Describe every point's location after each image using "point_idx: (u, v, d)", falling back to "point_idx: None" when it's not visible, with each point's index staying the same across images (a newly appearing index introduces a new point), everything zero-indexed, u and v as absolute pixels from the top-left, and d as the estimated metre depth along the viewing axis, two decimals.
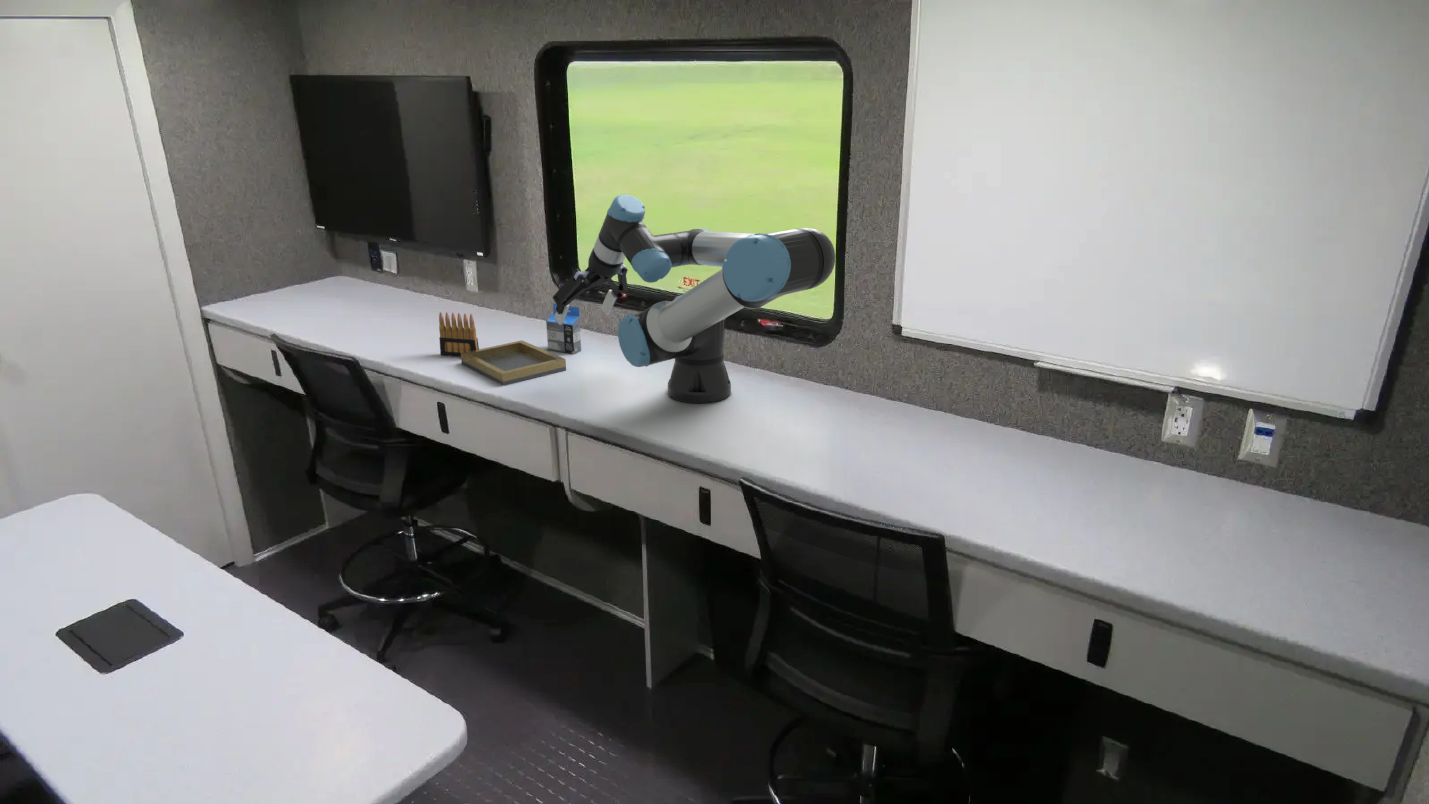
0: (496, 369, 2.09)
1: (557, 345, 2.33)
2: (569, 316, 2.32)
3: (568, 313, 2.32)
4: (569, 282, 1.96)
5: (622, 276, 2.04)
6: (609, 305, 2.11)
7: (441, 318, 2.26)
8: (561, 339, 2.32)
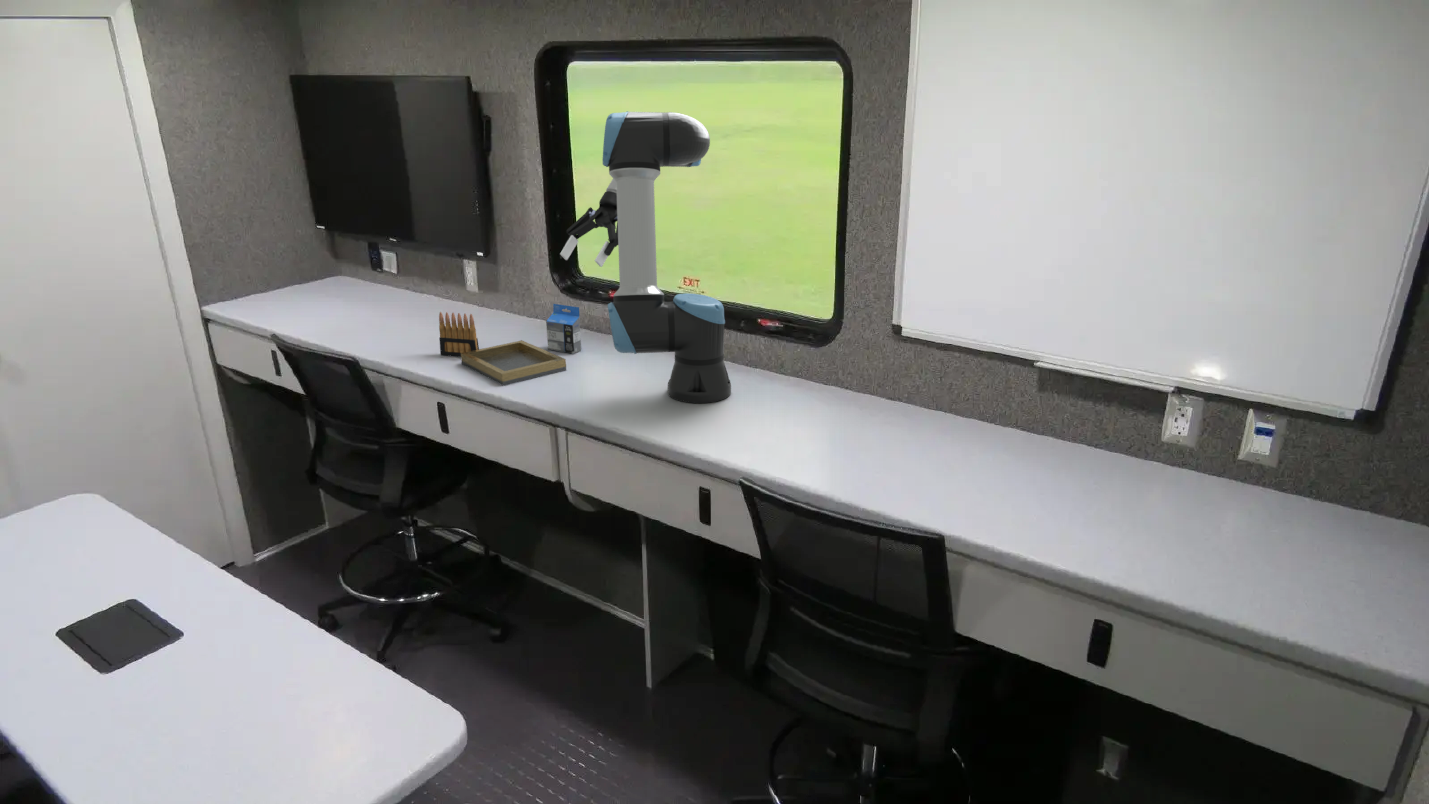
0: (496, 369, 2.09)
1: (557, 345, 2.33)
2: (569, 316, 2.32)
3: (568, 313, 2.32)
4: None
5: (618, 219, 2.32)
6: None
7: (441, 318, 2.26)
8: (561, 339, 2.32)
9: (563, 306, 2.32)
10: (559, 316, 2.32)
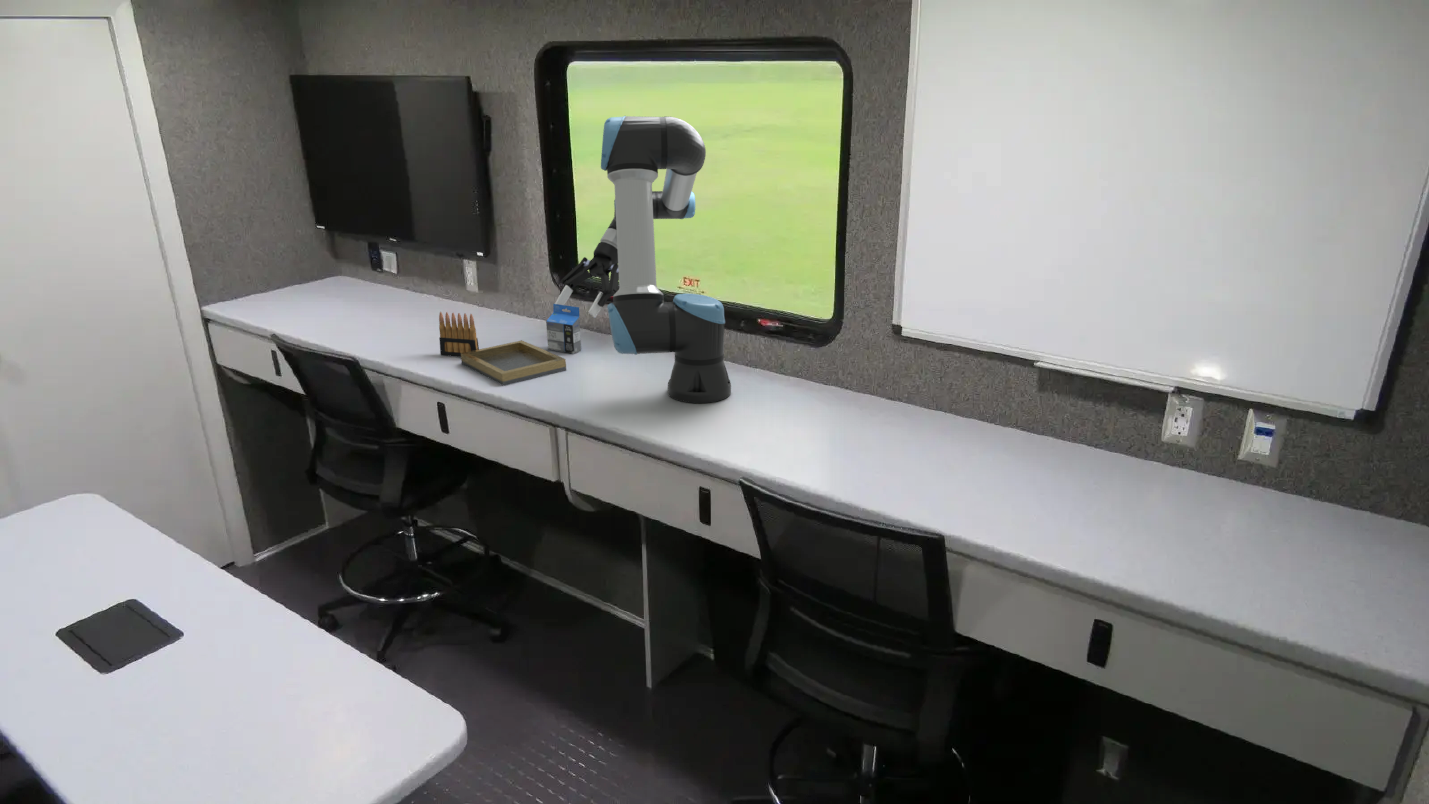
0: (496, 369, 2.09)
1: (557, 345, 2.33)
2: (569, 316, 2.32)
3: (568, 313, 2.32)
4: None
5: (611, 270, 2.35)
6: None
7: (441, 318, 2.26)
8: (561, 339, 2.32)
9: (563, 306, 2.32)
10: (559, 316, 2.32)
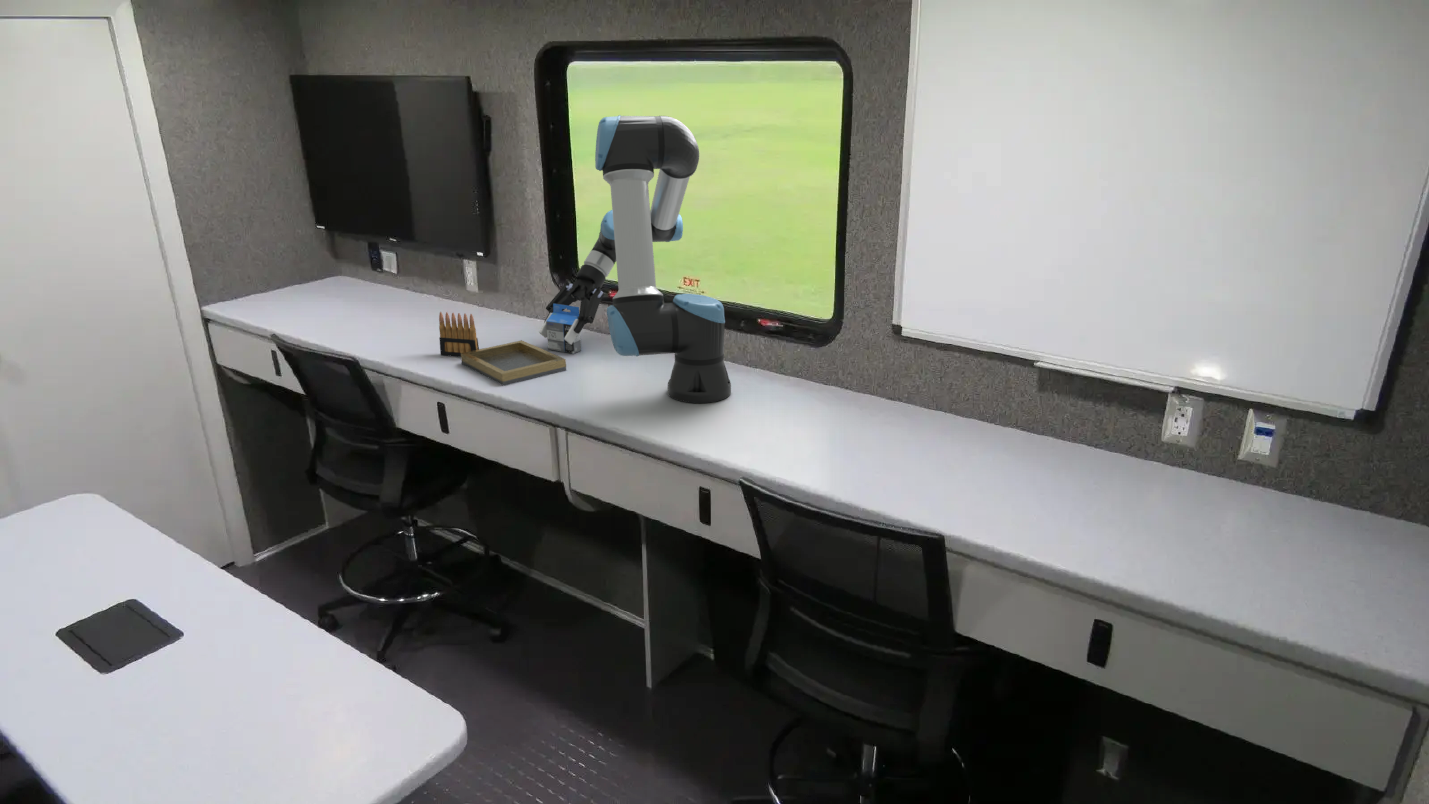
0: (496, 369, 2.09)
1: (557, 345, 2.33)
2: (569, 316, 2.32)
3: (568, 313, 2.32)
4: None
5: (593, 295, 2.31)
6: None
7: (441, 318, 2.26)
8: (561, 339, 2.32)
9: (563, 306, 2.32)
10: (559, 316, 2.32)
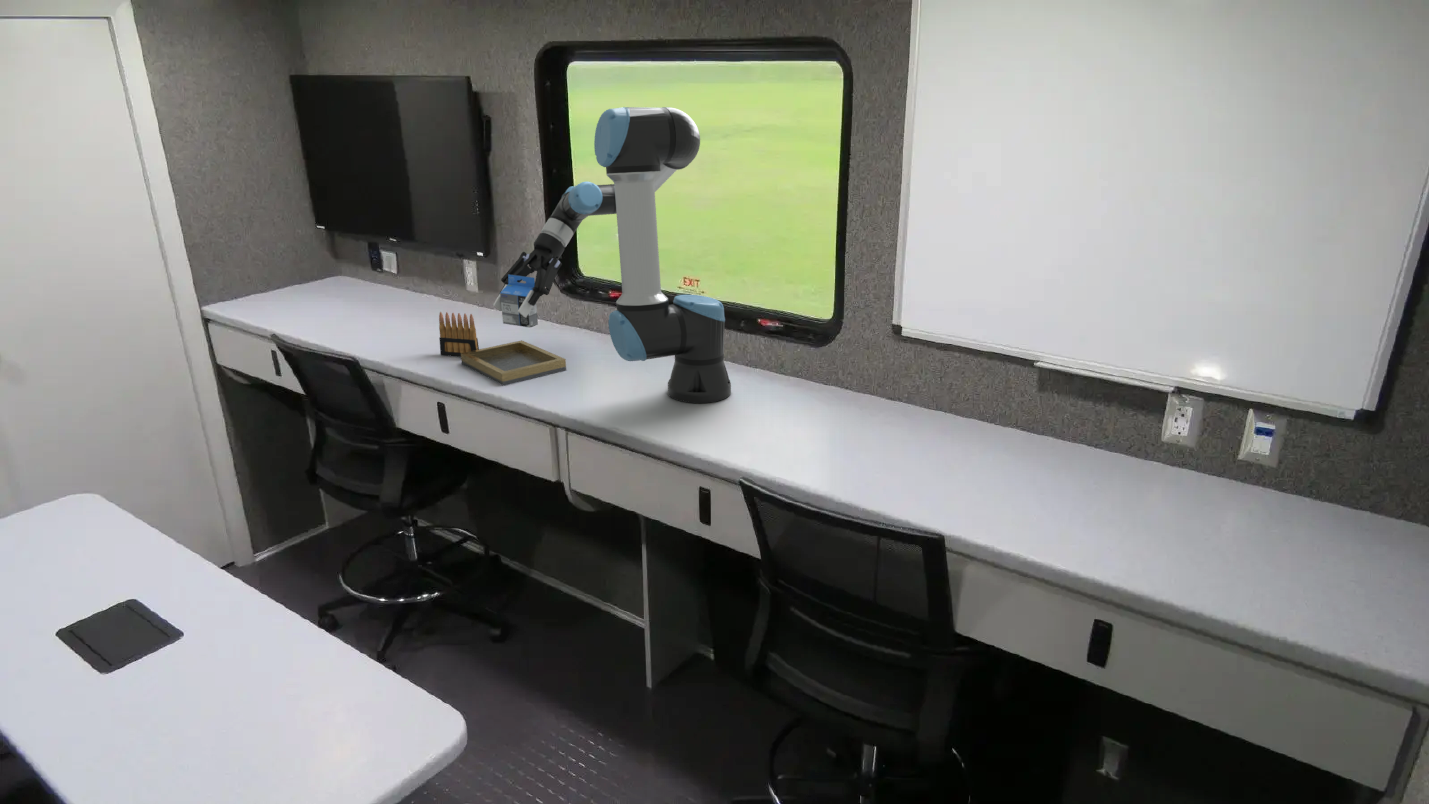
0: (496, 369, 2.09)
1: (512, 318, 2.19)
2: (524, 287, 2.18)
3: (523, 284, 2.18)
4: None
5: (549, 265, 2.16)
6: None
7: (441, 318, 2.26)
8: (515, 311, 2.18)
9: (518, 277, 2.18)
10: (514, 287, 2.18)
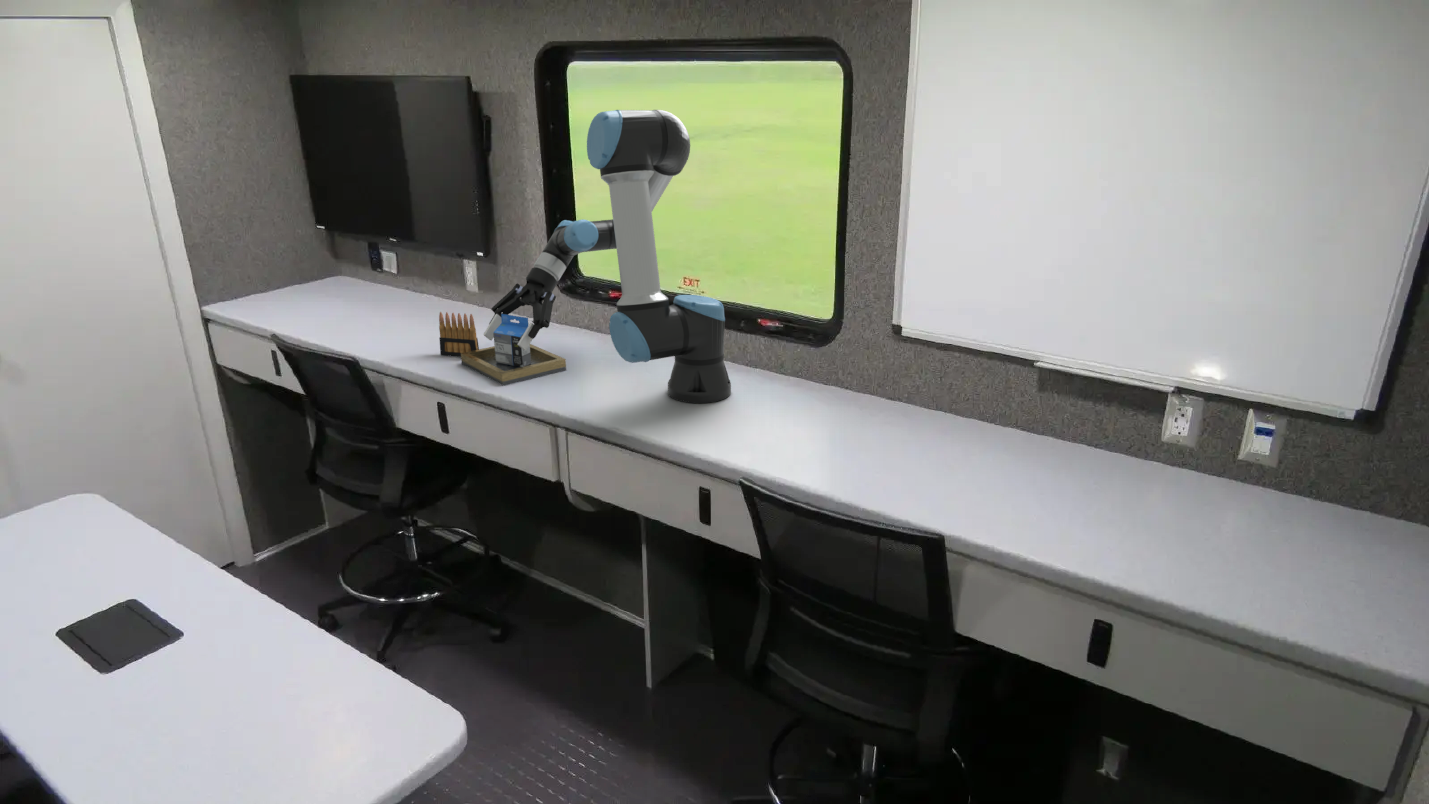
0: (496, 369, 2.09)
1: (505, 358, 2.19)
2: (518, 327, 2.17)
3: (517, 324, 2.18)
4: None
5: (544, 298, 2.16)
6: None
7: (441, 318, 2.26)
8: (509, 351, 2.17)
9: (511, 316, 2.18)
10: (507, 327, 2.18)
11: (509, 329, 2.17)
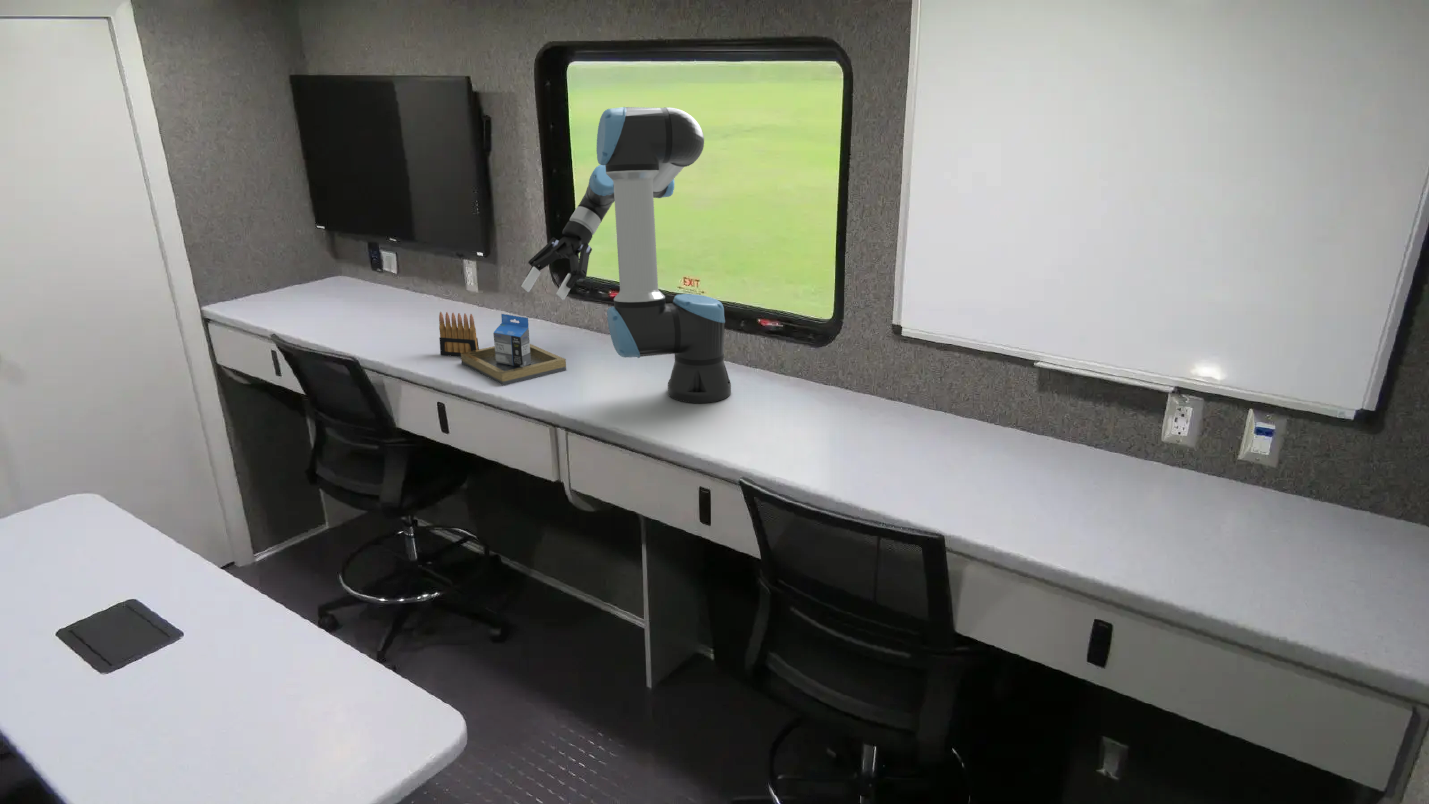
0: (496, 369, 2.09)
1: (505, 358, 2.19)
2: (518, 327, 2.17)
3: (517, 324, 2.18)
4: None
5: (581, 250, 2.22)
6: None
7: (441, 318, 2.26)
8: (509, 351, 2.17)
9: (511, 316, 2.18)
10: (507, 327, 2.18)
11: (509, 329, 2.17)
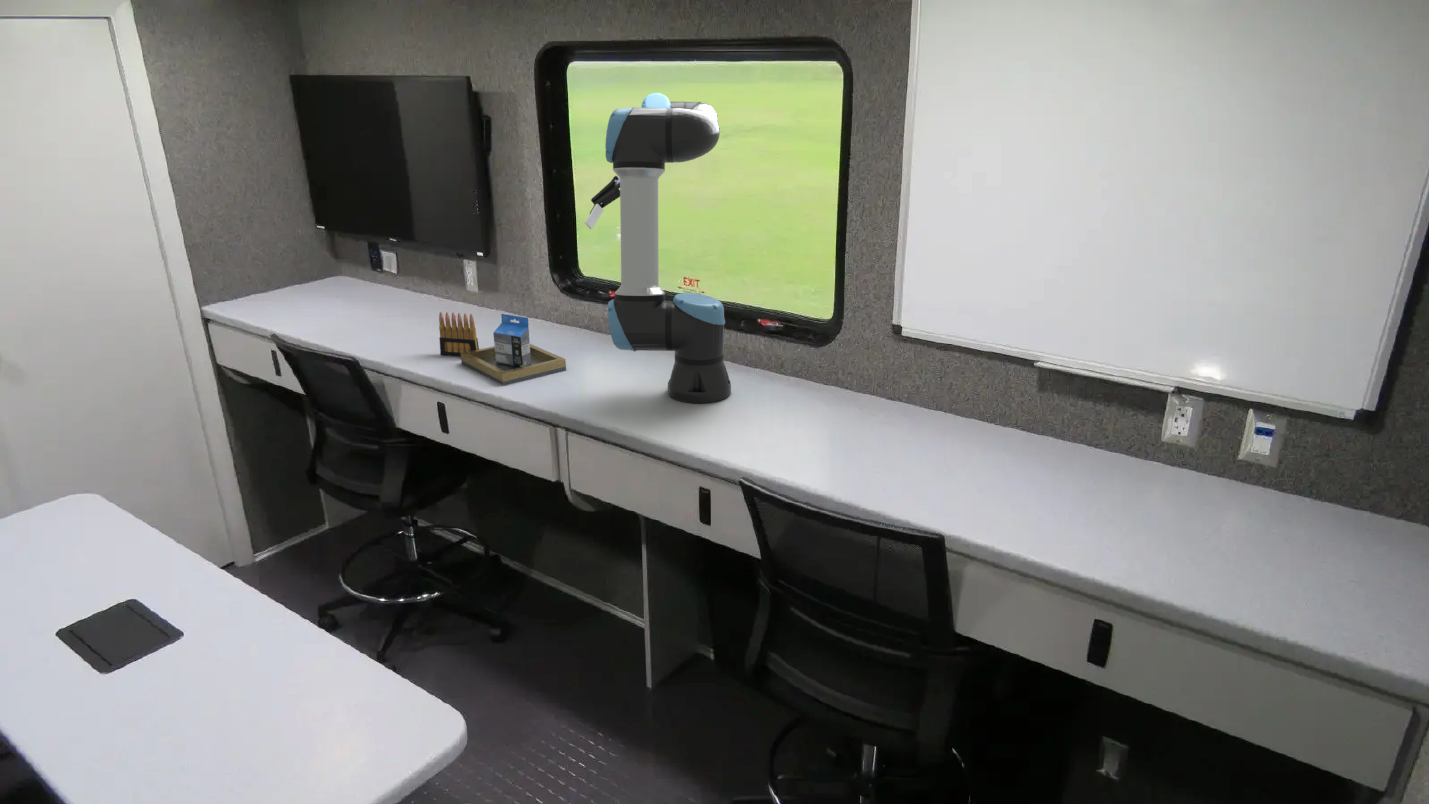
0: (496, 369, 2.09)
1: (505, 358, 2.19)
2: (518, 327, 2.17)
3: (517, 324, 2.18)
4: None
5: None
6: None
7: (441, 318, 2.26)
8: (509, 351, 2.17)
9: (511, 316, 2.18)
10: (507, 327, 2.18)
11: (509, 329, 2.17)
